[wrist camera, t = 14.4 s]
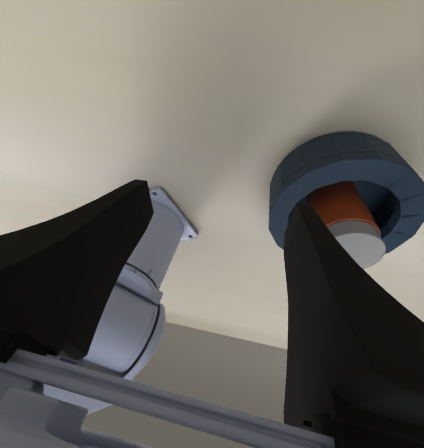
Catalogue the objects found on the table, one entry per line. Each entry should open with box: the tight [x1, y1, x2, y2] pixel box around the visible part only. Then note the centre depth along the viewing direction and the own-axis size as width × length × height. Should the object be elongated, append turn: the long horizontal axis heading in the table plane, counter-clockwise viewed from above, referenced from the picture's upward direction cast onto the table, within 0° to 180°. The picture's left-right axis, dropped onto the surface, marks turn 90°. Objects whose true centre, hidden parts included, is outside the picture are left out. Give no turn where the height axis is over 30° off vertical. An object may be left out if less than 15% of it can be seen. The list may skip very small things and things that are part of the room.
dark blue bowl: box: [269, 131, 424, 254], centre depth 17 cm, size 10×10×5 cm
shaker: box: [306, 181, 386, 269], centre depth 16 cm, size 4×4×7 cm
